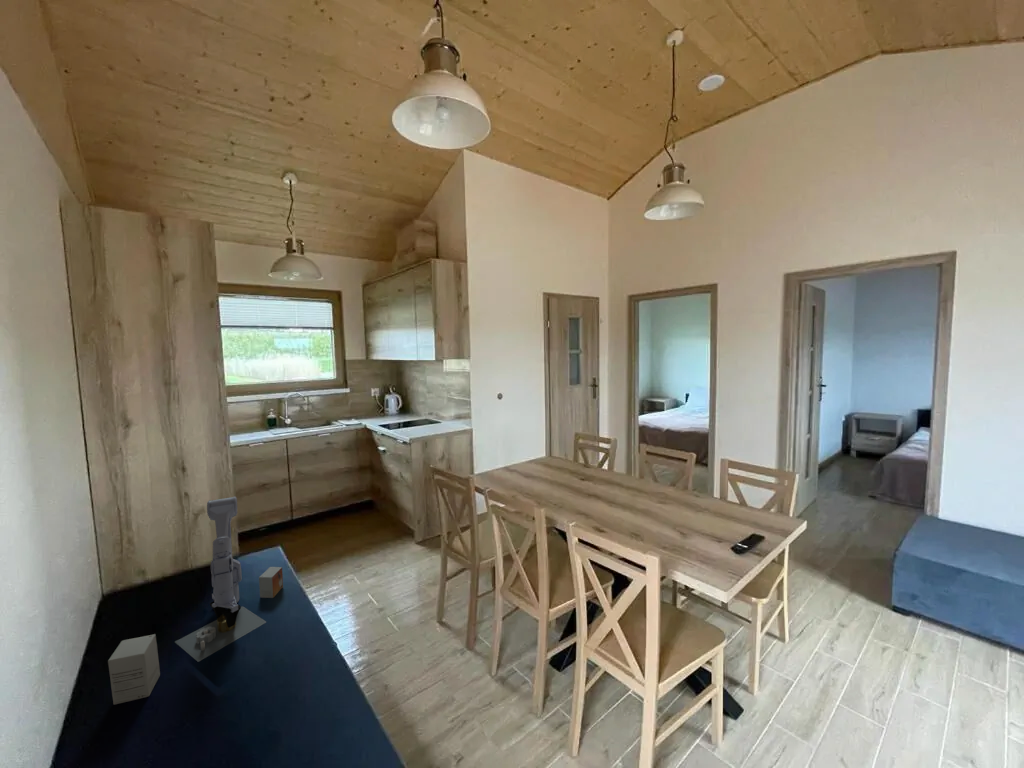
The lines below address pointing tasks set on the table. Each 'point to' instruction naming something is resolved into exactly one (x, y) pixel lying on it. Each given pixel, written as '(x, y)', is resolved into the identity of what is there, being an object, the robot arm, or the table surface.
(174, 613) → the table surface
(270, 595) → the small box
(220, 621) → the brass gear
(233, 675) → the table surface
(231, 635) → the gear board
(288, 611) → the table surface
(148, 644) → the supplement box
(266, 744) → the table surface
